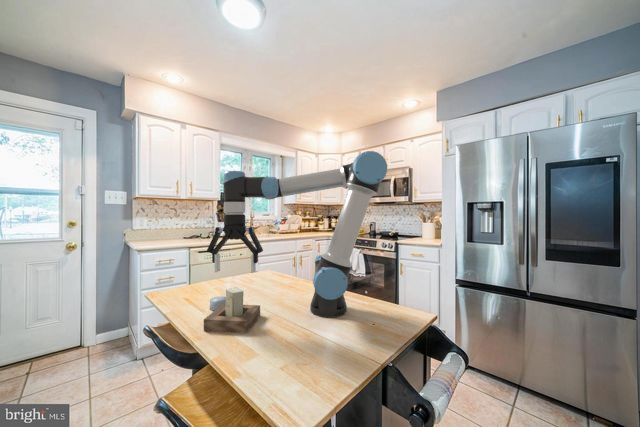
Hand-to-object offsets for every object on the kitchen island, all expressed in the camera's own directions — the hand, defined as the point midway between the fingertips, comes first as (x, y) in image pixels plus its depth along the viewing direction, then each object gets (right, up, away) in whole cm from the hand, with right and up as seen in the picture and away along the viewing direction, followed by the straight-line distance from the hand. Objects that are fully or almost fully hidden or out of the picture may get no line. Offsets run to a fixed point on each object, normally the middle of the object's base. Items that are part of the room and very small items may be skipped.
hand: (235, 271), depth 97 cm
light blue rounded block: (-12, -19, +14) cm, 26 cm away
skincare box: (-1, -19, 0) cm, 19 cm away
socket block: (-1, -19, 0) cm, 19 cm away
